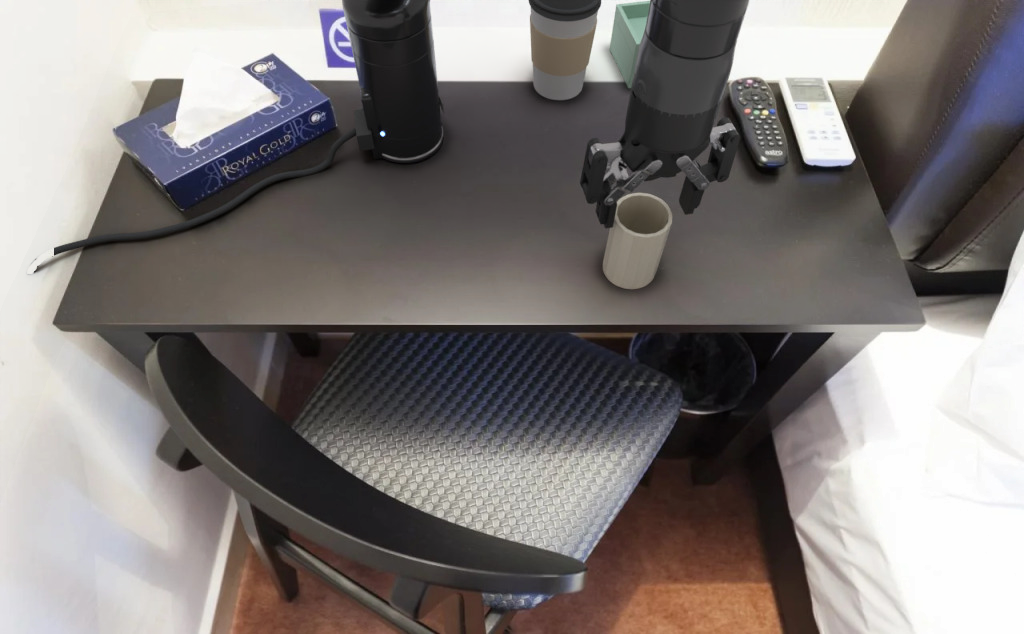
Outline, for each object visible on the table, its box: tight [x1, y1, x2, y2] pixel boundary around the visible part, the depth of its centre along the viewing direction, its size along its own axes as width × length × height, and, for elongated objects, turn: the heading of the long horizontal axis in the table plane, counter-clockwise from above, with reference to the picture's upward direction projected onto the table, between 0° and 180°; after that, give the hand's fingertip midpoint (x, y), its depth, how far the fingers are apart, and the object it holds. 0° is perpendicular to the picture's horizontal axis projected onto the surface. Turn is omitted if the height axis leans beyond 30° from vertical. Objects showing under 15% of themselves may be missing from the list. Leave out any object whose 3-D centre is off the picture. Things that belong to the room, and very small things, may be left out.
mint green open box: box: [609, 0, 650, 89], centre depth 92 cm, size 9×9×9 cm
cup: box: [602, 192, 673, 290], centre depth 72 cm, size 6×6×9 cm
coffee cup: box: [528, 0, 602, 101], centre depth 87 cm, size 9×9×15 cm
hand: (645, 215), depth 68 cm, fingers open, 8 cm apart
